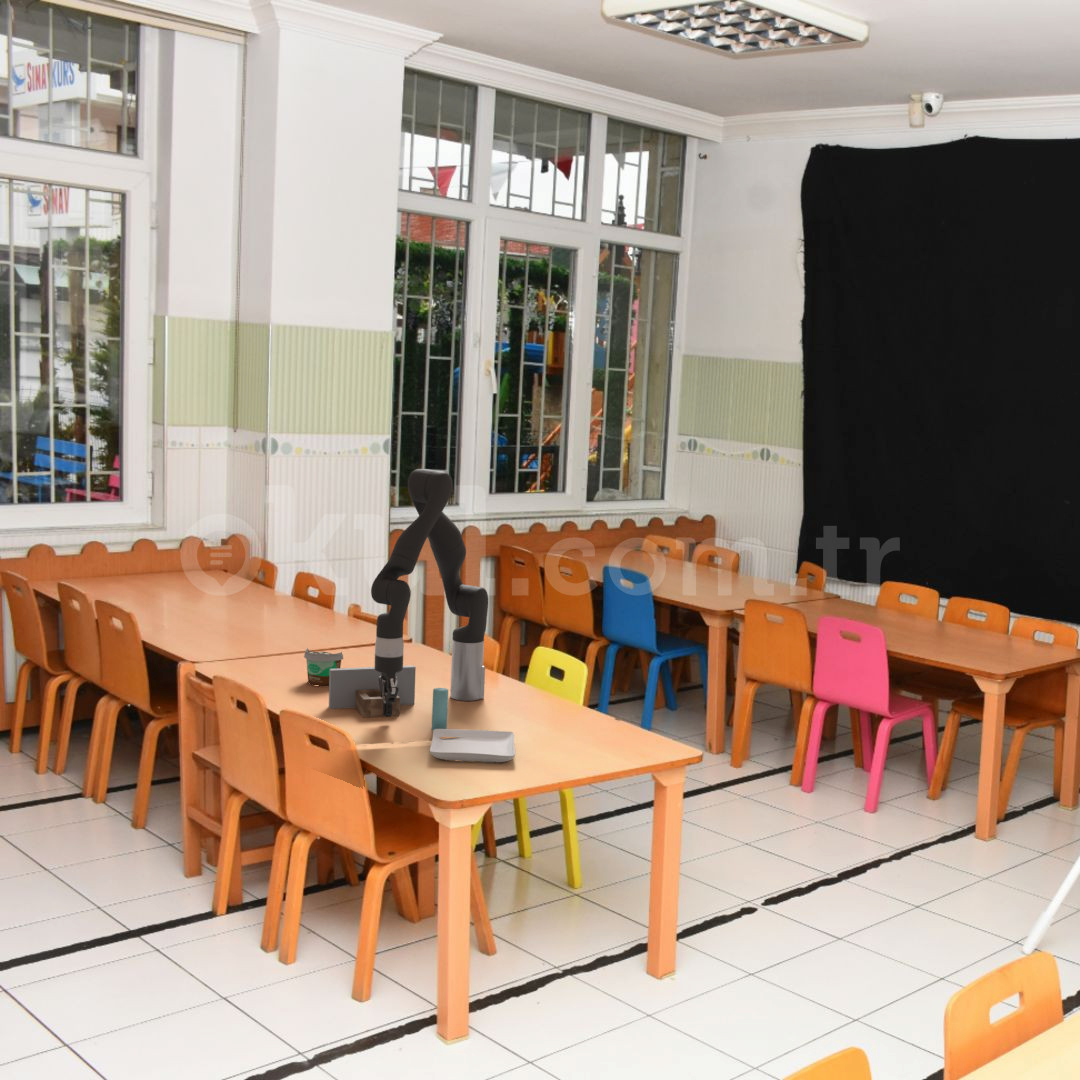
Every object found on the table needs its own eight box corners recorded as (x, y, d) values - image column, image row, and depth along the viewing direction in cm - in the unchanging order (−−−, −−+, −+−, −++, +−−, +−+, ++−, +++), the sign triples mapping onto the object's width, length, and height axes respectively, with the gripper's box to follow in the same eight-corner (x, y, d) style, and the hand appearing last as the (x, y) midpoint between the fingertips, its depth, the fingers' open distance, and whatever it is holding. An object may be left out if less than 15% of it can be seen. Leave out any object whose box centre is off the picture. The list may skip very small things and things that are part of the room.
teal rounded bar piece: (444, 731, 348) (445, 687, 346) (448, 735, 344) (450, 691, 342) (429, 732, 346) (431, 688, 345) (433, 736, 343) (435, 692, 341)
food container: (296, 684, 389) (296, 651, 387) (305, 680, 394) (306, 647, 393) (333, 689, 385) (334, 656, 384) (342, 684, 391) (343, 652, 389)
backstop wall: (412, 706, 370) (413, 665, 369) (414, 708, 369) (415, 666, 367) (328, 710, 362) (329, 668, 360) (330, 712, 360) (331, 670, 358)
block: (390, 705, 366) (391, 688, 365) (399, 715, 356) (399, 697, 356) (355, 707, 362) (355, 690, 362) (363, 717, 353) (363, 699, 352)
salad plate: (513, 742, 342) (514, 729, 341) (514, 767, 321) (515, 754, 320) (432, 739, 341) (433, 727, 341) (428, 765, 320) (429, 751, 319)
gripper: (409, 658, 341) (407, 722, 343) (396, 646, 353) (395, 708, 356) (381, 659, 338) (379, 723, 341) (369, 647, 350) (368, 710, 353)
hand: (387, 716), depth 348 cm, fingers closed
